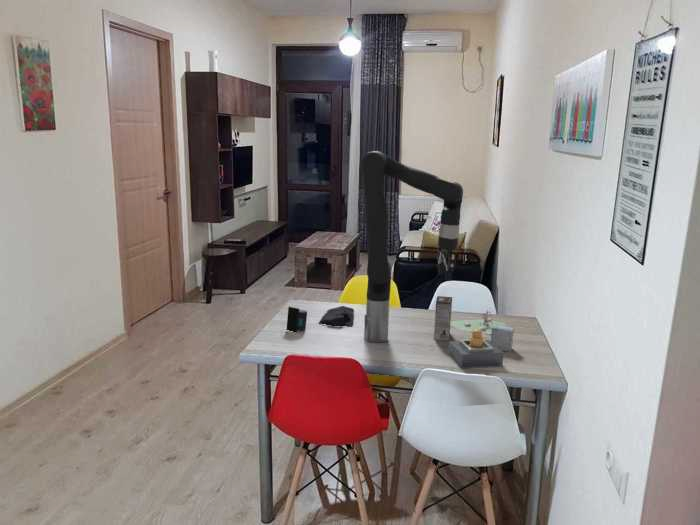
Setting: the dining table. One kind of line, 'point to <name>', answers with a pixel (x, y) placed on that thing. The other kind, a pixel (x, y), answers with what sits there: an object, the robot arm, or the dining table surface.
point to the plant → (477, 324)
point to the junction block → (475, 354)
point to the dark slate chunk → (338, 316)
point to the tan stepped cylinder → (476, 339)
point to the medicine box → (502, 337)
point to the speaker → (296, 319)
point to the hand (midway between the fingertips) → (444, 277)
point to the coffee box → (442, 318)
